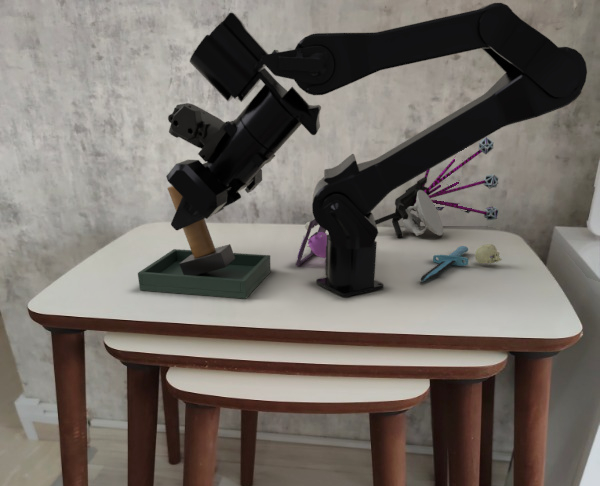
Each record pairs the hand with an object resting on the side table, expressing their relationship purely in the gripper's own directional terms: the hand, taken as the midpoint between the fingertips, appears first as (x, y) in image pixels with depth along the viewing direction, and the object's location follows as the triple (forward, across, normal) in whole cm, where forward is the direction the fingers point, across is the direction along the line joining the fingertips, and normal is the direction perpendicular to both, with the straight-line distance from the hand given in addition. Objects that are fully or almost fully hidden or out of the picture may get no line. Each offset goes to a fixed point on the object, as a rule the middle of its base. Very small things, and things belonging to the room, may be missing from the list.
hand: (179, 224), depth 77 cm
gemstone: (-23, -15, +33) cm, 43 cm away
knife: (-17, -13, +27) cm, 34 cm away
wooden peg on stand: (+1, 0, +7) cm, 7 cm away
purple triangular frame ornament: (-6, -13, +17) cm, 22 cm away
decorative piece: (-11, -25, +18) cm, 33 cm away
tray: (+3, 0, +8) cm, 8 cm away
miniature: (-20, -30, +24) cm, 43 cm away
